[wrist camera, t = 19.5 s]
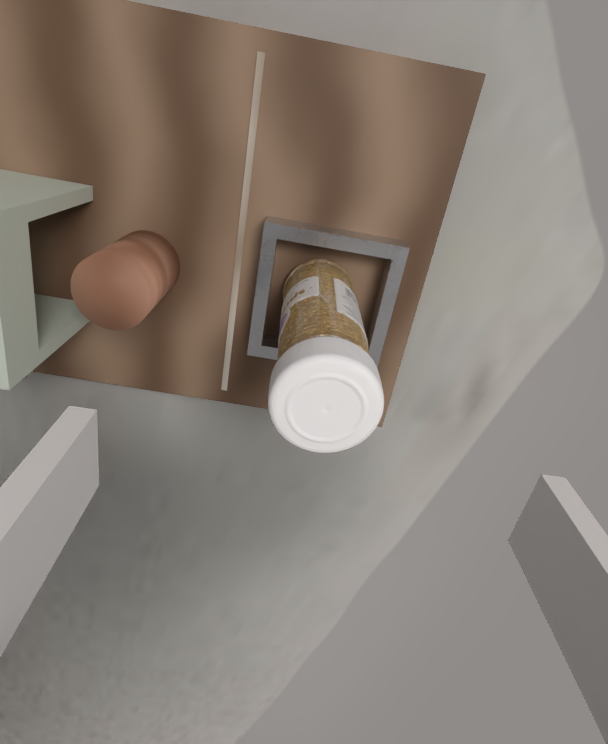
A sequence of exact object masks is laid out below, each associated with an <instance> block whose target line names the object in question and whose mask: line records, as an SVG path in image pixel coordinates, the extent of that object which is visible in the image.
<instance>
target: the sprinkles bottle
mask: <svg viewBox="0 0 608 744" xmlns="http://www.w3.org/2000/svg"><path fill="white" fill-rule="evenodd" d="M354 293H355V290H354V285H353V282H352V279H351V278H350V276H349V274H348V273H347V272H346V270H345V269H343V268H342V267H341V266H339V265H338V264H337V263H334V262H331V261H328V260H326V259H314V260H309V261H307V262H304V263H302V264H300V265H298V266H297V267H296V268H295V269H294V270H293V271H292V272H291V273H290V274H289V276H288V278H287V279H286V281H285V283H284V287H283V292H282V294H283V305H282V311H281V321H280V330H279V339H278V356H277V362H276V364H275V366H274V368H273V371H272V374H271V378H270V384H269V394H268V410H269V414H270V418H271V420H272V422H273V425H274V426H275V428H276V429H277V431H278V432H279V433H280V434H281V435H282V436H283V437H284V438H285V439H286V440H287V441H289V442H290V443H292V444H293V445H295V446H297V447H299V448H302V449H305V450H308V451H312V452H317V453H333V452H339V451H343V450H346V449H349V448H351V447H354V446H356V445H357V444H359V443H361V442H362V441H364V440H365V439H366V438H367V437H368V436H369V435H370V434H372V432H373V431H374V430H375V428H376V427H377V425H378V423H379V421H380V419H381V417H382V414H383V410H384V394H383V388H382V383H381V379H380V375H379V372H378V369H377V366H376V365H375V363H374V361H373V359H372V358H371V357H370V355H369V350H368V341H367V337H366V333H365V330H364V326H363V322H362V318H361V314H360V310H359V307H358V303H357V300H356V297H355V294H354Z"/></svg>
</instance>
